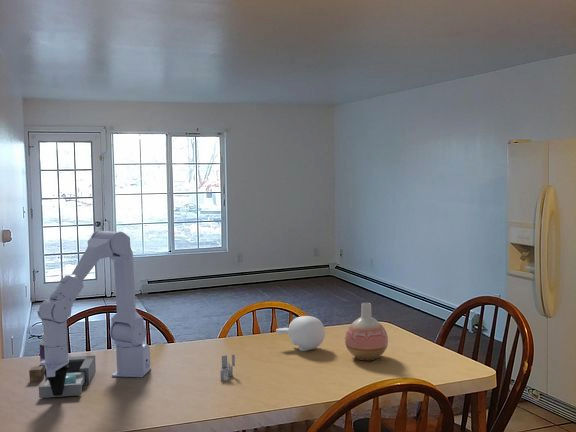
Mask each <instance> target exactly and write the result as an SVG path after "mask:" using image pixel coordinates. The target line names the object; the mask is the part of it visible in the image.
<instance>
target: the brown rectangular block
mask: <svg viewBox="0 0 576 432" xmlns="http://www.w3.org/2000/svg"><path fill="white" fill-rule="evenodd" d="M44 367H45V365H40V366H39V365H38V366H31V367H30V369H29V370H28V372H29V383H36V382H38V383H39V382H43V380H44V379H45V374H44V371H45V369H44Z"/></svg>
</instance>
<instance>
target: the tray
mask: <svg viewBox="0 0 576 432" xmlns="http://www.w3.org/2000/svg"><path fill="white" fill-rule="evenodd" d="M73 374H75V375H76V383H75V384H64V390H63V394H62V395H60V396H54V395H53V392H52V389H51V386H50V383H49V381H48V380H47V381H46V382H45V383H44V384H43V385H38V398H39V399H42V398H43V399H46V398H55V397H57V398H59V397H72V396H74V397H75V396H82V395H83V394H82V393H83V389H82V388H83V386H84V385H83V383H84V381H85V379H86V372H79V373H73Z"/></svg>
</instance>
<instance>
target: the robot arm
mask: <svg viewBox="0 0 576 432" xmlns="http://www.w3.org/2000/svg"><path fill="white" fill-rule="evenodd" d="M106 258H109V259H110V260H112V261H113V266H114V286H115V301H116V302H115V303H116V313H115V314H114V315H113V316H112V318H111V324H110V325H111V326H110V329H109V335H110V338H111V339H112V340H113V342H114V344H115V348H116V349H115V353H116V355H115V357H116V371H115V372H113V373H112V374H111V377H116V378H118V377H123V378H143V377H144V376H145V375H146V374H148V373H149V372H150V370H151V369H152V367H151V349H150V345H149V344H146V343H143V342H144V341H145V339H146V337H147V327H146V326H145V322H144V318H143V317H142V315H140V314H139V312H138V311H137V309H136V308H137V307H136V291H135V290H136V288H135V269H134V267H135V266H134V253H133V250H132V247H131V237H130V236H129V235H127V234H126V233H125V232H123V231H108V230H107V231H106V230H100V229H99V230H95V231H94V232H93V233H92V234H91V237H90V238H89V239H88V240H87V247H86V249H85V251H84V252H83V254H82V256H81V258H80V260H79V261H78V262H77V264H76V266H75V267H74V269H73V271H72V273H71V274H67V275H64V277H61V278H60V280H59V283H58V284H57V287H56V288H55V290H54V291H53V292H52V293H51V294H50V296H49V298H47V299H45V300H43V301H42V302H41V304H40V306H39V307H38V310H37V316H38V318H39V319H40V320H41V325H42V327H43V333H44V350H45V360H43V361H41V362H40V361H39V362H40V366H44V367H45V369H44V377H45V376H46V377H47V379H48V381H49V383H50V386H51V389H52V392H53V395H54V396H60V395H62V394H63V390H64V384H65V378H66V375H67V372H68V369H69V365H67V364H68V363H69V359H68V357H69V350H68V327H67V326H68V324H67V323H68V322H67V320H68V319H69V318H70V317H71V314H72V308H73V306H74V305H73V304H74V302H75V300H76V299H77V297H79V295H80V293H81V291H82V290H83V288H84V287H85V286H84V280H85V278H86V277H87V276H88V275H89V273H90V272H91V271H92V270H93V269H94V268H95V267H96V265H97V264H98V262H99V261H100V260H101V259H106Z"/></svg>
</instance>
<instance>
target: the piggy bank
mask: <svg viewBox="0 0 576 432" xmlns="http://www.w3.org/2000/svg"><path fill="white" fill-rule="evenodd" d="M275 333H276V334H278V335H287V334H288V337H289V339H290V340H291V345H292V346H298V350H299V351H301V352H306V351H309V350H314V349H317V348H318V347H319V346H321V345H322V343H323V341H324V340H325V337H326V336H325V335H326V329H325V326H324V323H322V321H321V320H320V319H319V318H318V317H315V316H311V315H301V316H298V317H295V318H294V319H293V320H291V321H290V323H289V325H288V327H280V328H276V329H275Z"/></svg>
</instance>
